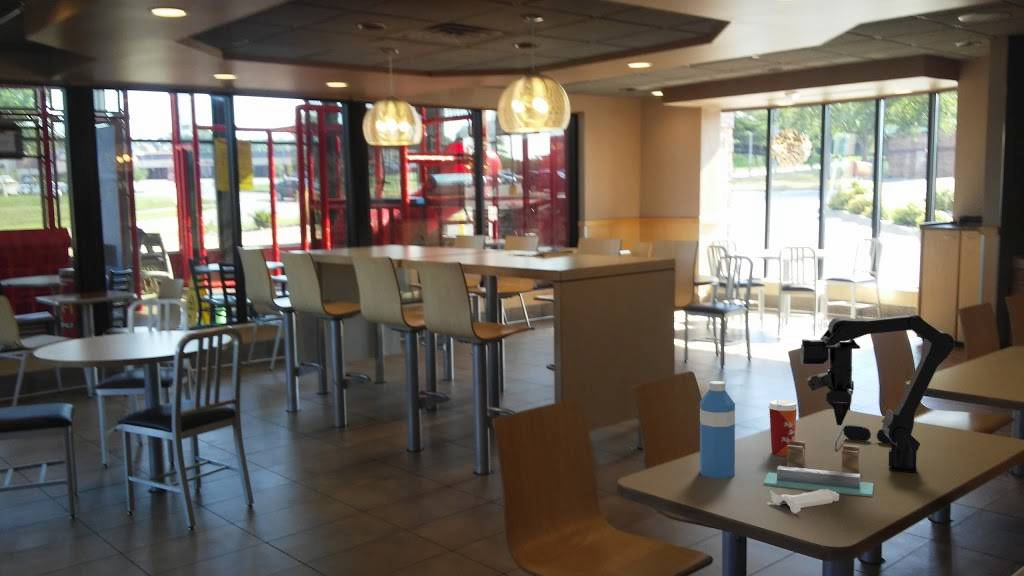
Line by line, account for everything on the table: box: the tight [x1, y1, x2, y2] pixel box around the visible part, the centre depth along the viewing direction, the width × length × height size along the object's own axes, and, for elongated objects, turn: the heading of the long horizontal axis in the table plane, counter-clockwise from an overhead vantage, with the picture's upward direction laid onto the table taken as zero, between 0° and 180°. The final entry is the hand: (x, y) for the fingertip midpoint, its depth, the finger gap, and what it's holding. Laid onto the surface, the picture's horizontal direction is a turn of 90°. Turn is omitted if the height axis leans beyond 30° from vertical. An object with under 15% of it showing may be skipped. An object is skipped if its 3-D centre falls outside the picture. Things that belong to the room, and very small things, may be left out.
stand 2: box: [841, 444, 860, 474], centre depth 234 cm, size 4×6×6 cm, turn 156°
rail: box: [776, 465, 861, 489], centre depth 224 cm, size 20×3×3 cm, turn 66°
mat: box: [763, 472, 874, 497], centre depth 224 cm, size 26×9×1 cm, turn 66°
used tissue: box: [767, 489, 840, 515], centre depth 209 cm, size 11×18×4 cm, turn 102°
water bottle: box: [699, 380, 736, 479], centre depth 234 cm, size 9×9×25 cm
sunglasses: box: [834, 424, 893, 451], centre depth 256 cm, size 17×15×5 cm
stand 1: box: [786, 440, 806, 468], centre depth 239 cm, size 4×6×6 cm, turn 156°
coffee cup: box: [767, 399, 799, 457], centre depth 252 cm, size 8×8×15 cm
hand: (840, 421), depth 237 cm, fingers open, 9 cm apart
